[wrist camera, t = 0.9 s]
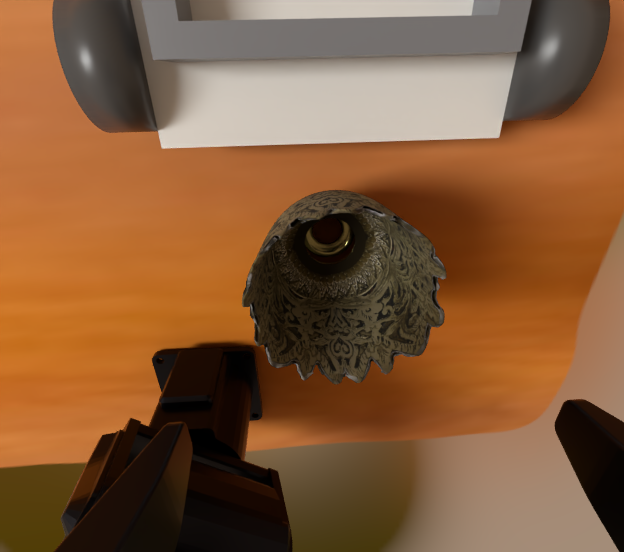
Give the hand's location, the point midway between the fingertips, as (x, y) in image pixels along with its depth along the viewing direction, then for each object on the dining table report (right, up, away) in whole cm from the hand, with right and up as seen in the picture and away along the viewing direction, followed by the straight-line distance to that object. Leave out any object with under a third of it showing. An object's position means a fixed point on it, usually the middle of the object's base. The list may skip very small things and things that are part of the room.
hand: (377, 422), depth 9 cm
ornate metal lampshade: (-1, +6, +12) cm, 13 cm away
